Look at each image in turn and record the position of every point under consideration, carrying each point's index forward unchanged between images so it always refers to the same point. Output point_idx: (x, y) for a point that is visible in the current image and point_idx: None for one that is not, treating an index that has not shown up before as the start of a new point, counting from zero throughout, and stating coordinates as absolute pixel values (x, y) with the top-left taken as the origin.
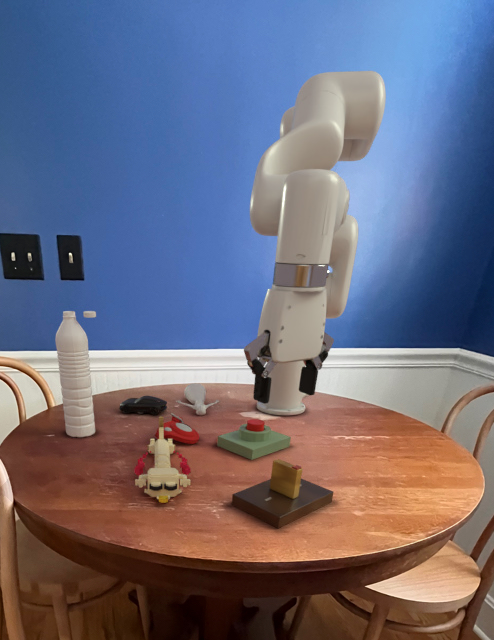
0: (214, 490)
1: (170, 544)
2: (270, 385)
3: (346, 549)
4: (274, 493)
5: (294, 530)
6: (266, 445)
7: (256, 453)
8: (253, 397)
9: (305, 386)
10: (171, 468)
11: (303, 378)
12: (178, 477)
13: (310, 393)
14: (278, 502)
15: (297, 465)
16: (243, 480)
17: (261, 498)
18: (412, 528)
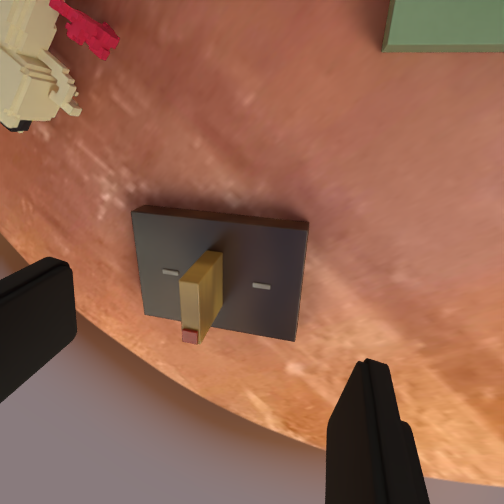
0: (155, 133)
1: (5, 219)
2: (3, 397)
3: (190, 383)
4: None
5: (171, 321)
6: (472, 44)
7: (406, 49)
8: (46, 258)
9: (341, 426)
10: (12, 65)
11: (353, 453)
12: (19, 115)
13: (327, 429)
14: (178, 290)
15: (195, 336)
16: (244, 142)
17: (164, 261)
18: (308, 430)
